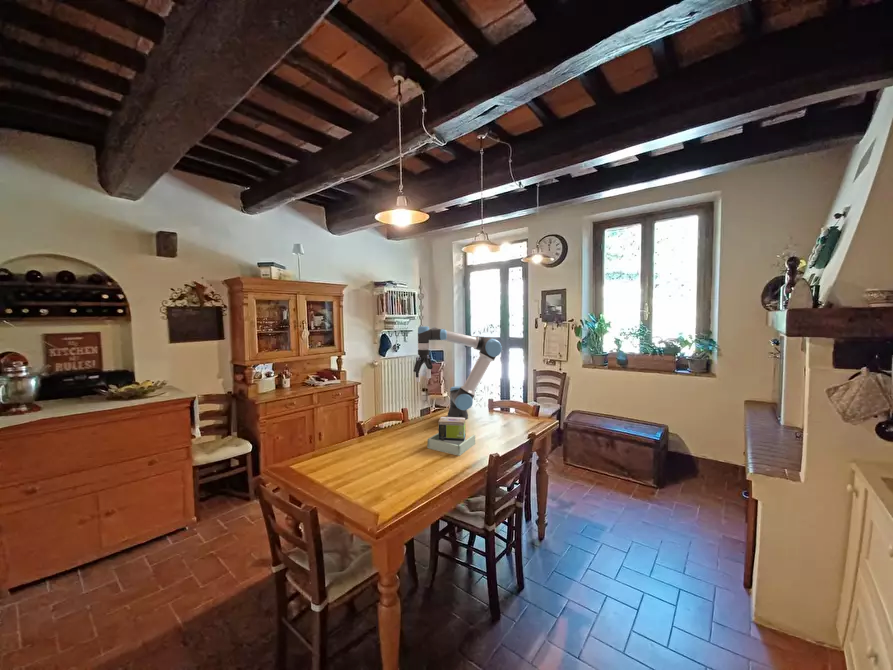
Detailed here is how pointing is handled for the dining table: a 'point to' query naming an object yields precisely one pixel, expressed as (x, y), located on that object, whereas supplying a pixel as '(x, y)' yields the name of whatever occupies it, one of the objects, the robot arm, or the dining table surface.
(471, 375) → the robot arm
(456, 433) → the tea box
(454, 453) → the grey tray
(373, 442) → the dining table surface
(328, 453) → the dining table surface
